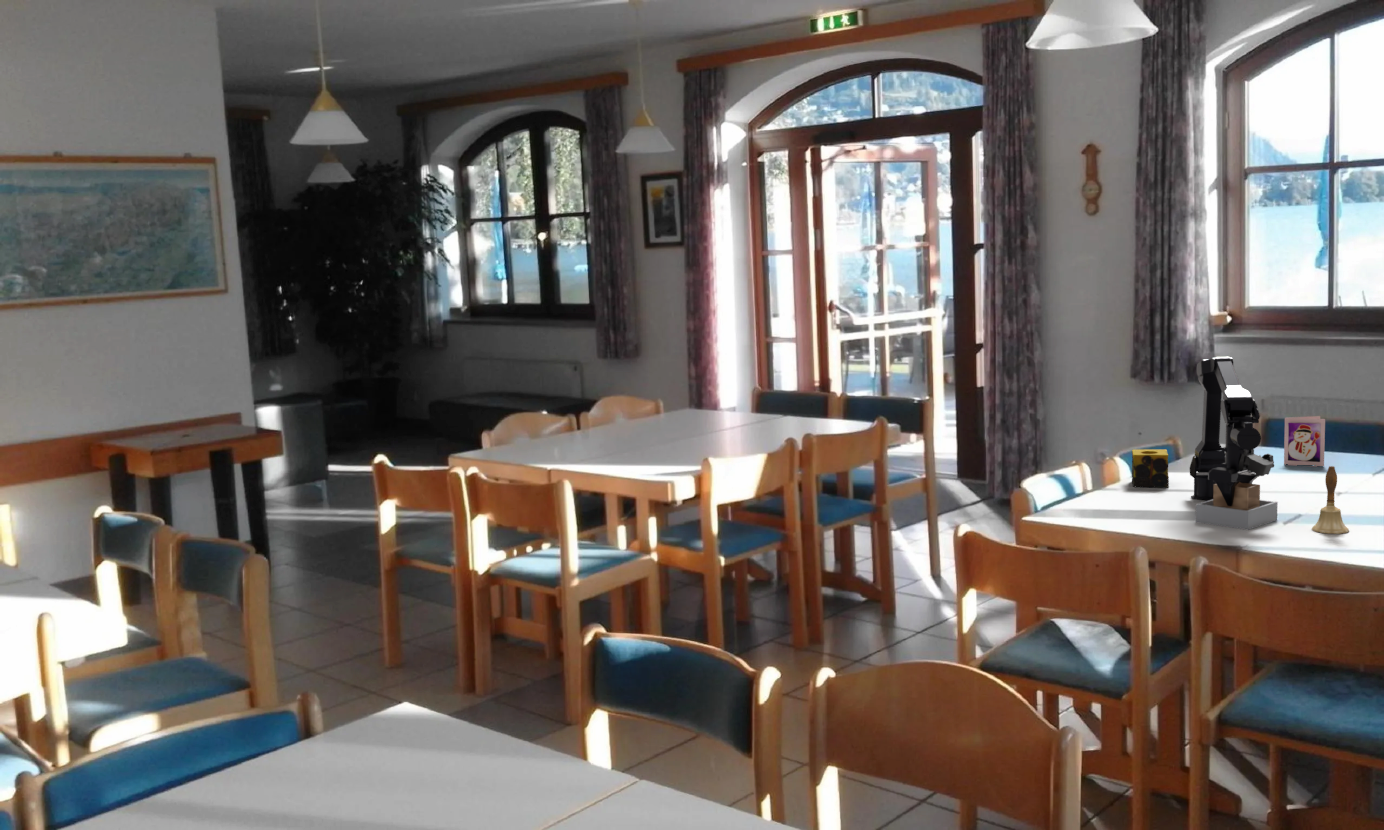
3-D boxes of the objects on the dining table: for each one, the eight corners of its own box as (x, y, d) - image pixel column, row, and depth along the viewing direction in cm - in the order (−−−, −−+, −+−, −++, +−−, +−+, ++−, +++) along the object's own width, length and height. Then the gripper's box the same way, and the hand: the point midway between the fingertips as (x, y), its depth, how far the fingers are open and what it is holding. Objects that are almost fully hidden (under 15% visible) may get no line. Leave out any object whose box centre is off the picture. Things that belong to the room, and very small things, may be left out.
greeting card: (1283, 465, 409) (1284, 418, 407) (1286, 461, 415) (1287, 414, 413) (1323, 467, 403) (1324, 419, 401) (1326, 463, 409) (1327, 416, 407)
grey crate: (1195, 523, 335) (1195, 504, 335) (1225, 513, 345) (1225, 495, 344) (1248, 530, 325) (1248, 511, 324) (1277, 521, 334) (1277, 502, 333)
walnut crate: (1213, 507, 336) (1213, 484, 335) (1226, 503, 340) (1226, 480, 339) (1247, 511, 329) (1247, 488, 328) (1259, 507, 333) (1260, 484, 332)
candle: (1167, 482, 390) (1167, 449, 389) (1169, 488, 380) (1169, 454, 379) (1131, 481, 393) (1131, 448, 391) (1132, 487, 383) (1133, 454, 382)
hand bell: (1304, 527, 324) (1306, 464, 322) (1336, 526, 325) (1338, 463, 323) (1323, 535, 316) (1325, 470, 314) (1356, 533, 317) (1358, 468, 315)
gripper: (1250, 451, 320) (1248, 513, 322) (1286, 442, 332) (1284, 502, 334) (1207, 447, 329) (1206, 507, 331) (1244, 438, 340) (1242, 496, 342)
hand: (1236, 503), depth 334 cm, fingers closed on walnut crate, 6 cm apart
